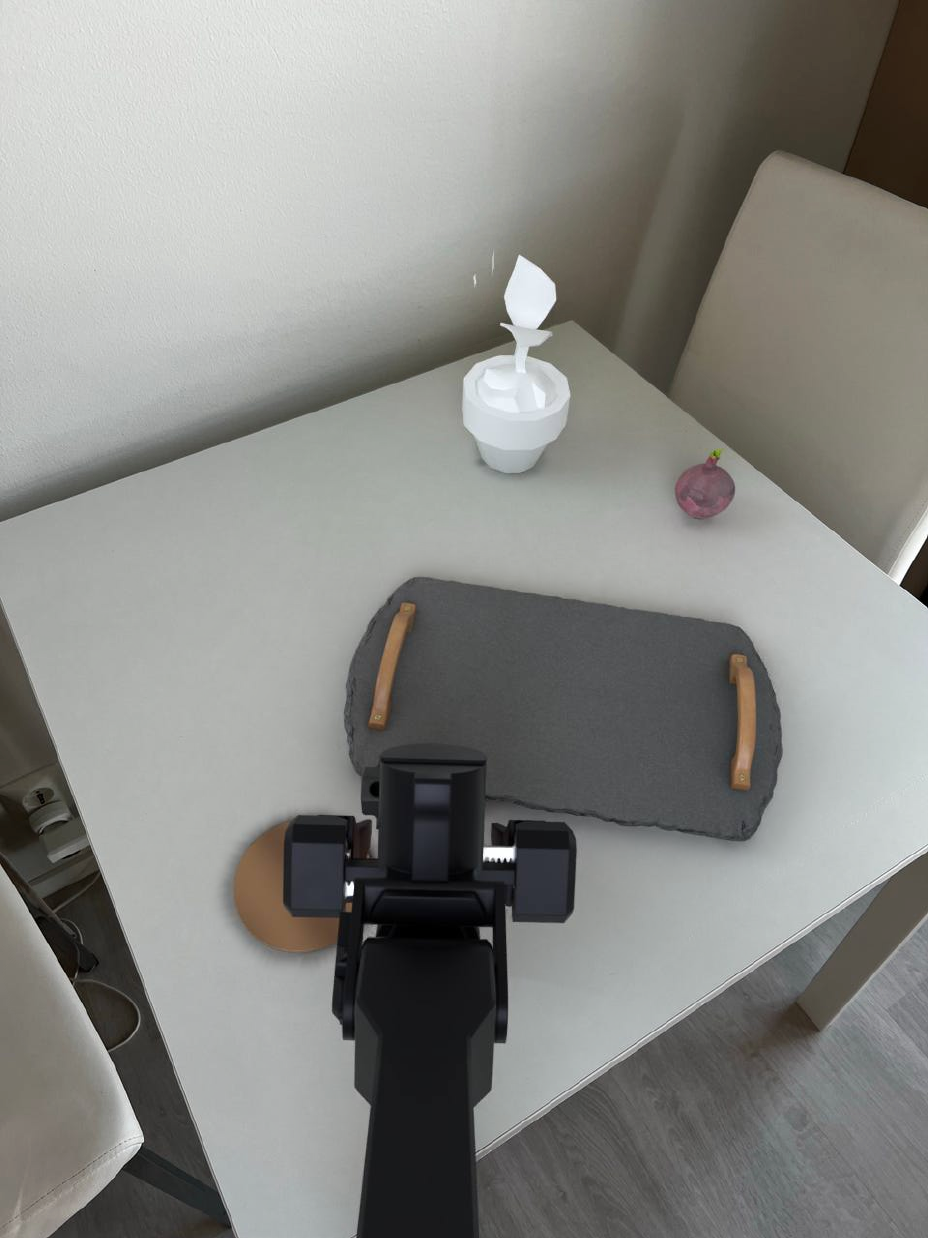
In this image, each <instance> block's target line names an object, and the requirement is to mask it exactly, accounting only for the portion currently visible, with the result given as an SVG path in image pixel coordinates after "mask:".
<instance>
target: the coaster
mask: <svg viewBox="0 0 928 1238" xmlns="http://www.w3.org/2000/svg"><path fill="white" fill-rule="evenodd" d="M291 821H292V820H290V821H286V822H283V823H281V824H279V825H276V826H274V827H273V828H270V829H269V830H267V831H266V832H265V833H262V835H260V836H259V837H258V838H257V839H256V840H255V841H253V843H252V844H251V845H250V846H249V847H248V849H247V850H246V851H245V853H244V854H243V856H242V857H241V859H240V861H239V864H238V867H237V869H236V872H235V876H234V880H233V889H232V890H233V901H234V906H235V909H236V912H237V915H238V917H239V919H240V921H241V923H242V924H243V926H244V927H245V929H246V930H247V932H249V934H251V936H253V937H254V938H255V939H256V940H257V941H259V942H260V943H262V944H264V945H266V946H267V947H270V948H272V949H274V950H278V951H282V952H285V953H309V952H315V951H319V950H322V949H325V948H327V947H330V946H332V945H335V944H337V939H338V927H339V918H316V917H292V916H291V915H290V913H289V912H288V911H287V910H286V908H285V907H284V904H283V871H284V839H285V831H286V829H287V827H288V825H289V823H290V822H291ZM367 858H371V856H370V854H369V853H368V854H367ZM351 910H352V903H346V912H351Z"/></svg>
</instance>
